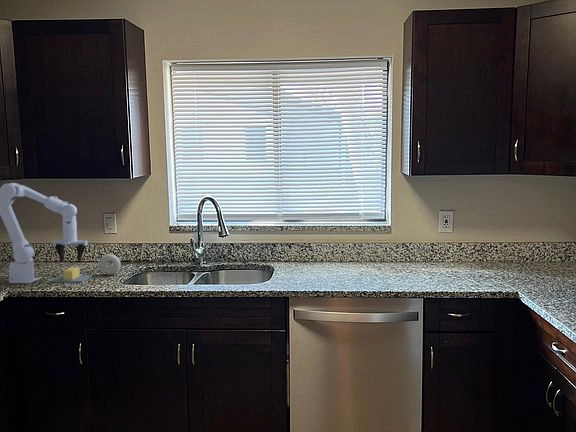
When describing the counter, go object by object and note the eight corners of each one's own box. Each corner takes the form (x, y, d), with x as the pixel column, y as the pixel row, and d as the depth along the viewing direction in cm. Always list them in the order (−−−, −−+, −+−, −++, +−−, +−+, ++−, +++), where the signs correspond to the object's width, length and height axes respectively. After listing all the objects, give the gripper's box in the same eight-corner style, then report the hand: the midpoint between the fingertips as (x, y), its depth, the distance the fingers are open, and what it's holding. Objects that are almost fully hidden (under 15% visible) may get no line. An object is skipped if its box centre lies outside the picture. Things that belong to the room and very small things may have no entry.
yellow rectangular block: (71, 275, 236) (70, 267, 236) (79, 275, 236) (79, 267, 236) (63, 279, 228) (63, 271, 228) (72, 279, 228) (72, 271, 228)
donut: (98, 275, 240) (97, 254, 239) (100, 274, 244) (100, 253, 243) (119, 275, 241) (119, 254, 240) (122, 274, 244) (121, 253, 243)
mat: (50, 282, 226) (50, 280, 226) (62, 276, 238) (62, 274, 238) (82, 282, 226) (82, 281, 226) (92, 276, 238) (92, 275, 238)
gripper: (49, 232, 226) (50, 262, 227) (82, 232, 226) (83, 262, 227) (56, 230, 233) (57, 259, 234) (88, 230, 233) (89, 259, 234)
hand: (71, 261), depth 231 cm, fingers open, 7 cm apart
